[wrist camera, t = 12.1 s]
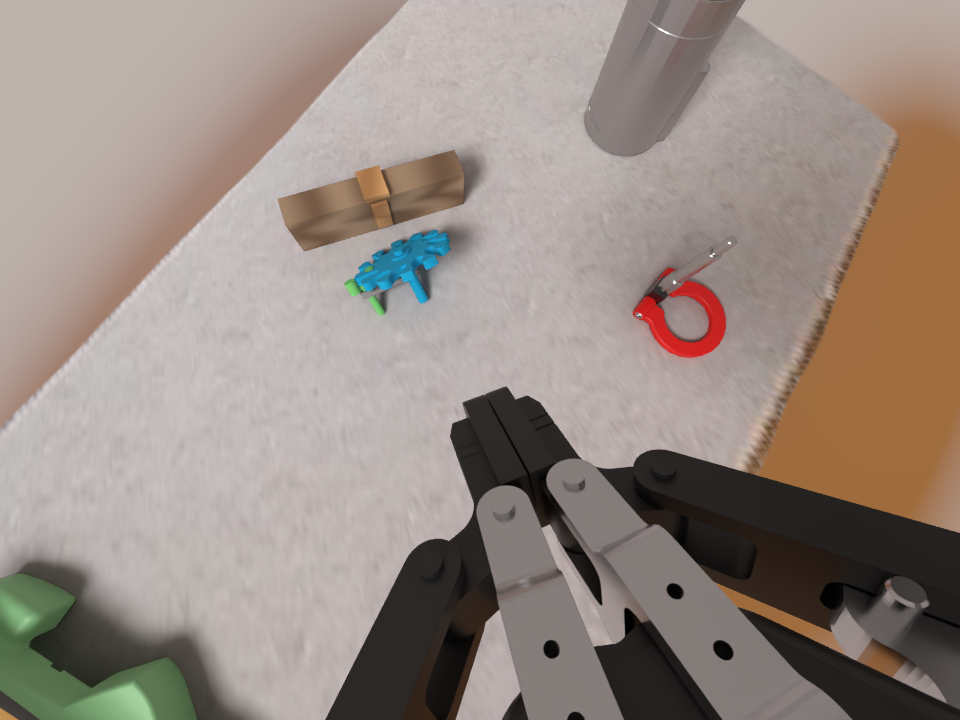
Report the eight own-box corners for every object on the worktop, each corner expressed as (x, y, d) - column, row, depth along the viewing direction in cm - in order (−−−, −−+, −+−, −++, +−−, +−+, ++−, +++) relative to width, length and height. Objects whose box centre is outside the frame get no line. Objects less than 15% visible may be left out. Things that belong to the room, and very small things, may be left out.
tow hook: (732, 316, 46) (666, 264, 46) (843, 269, 33) (750, 198, 34) (693, 374, 44) (624, 319, 45) (794, 347, 32) (697, 271, 32)
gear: (435, 216, 44) (455, 241, 36) (457, 264, 47) (479, 298, 39) (341, 260, 44) (339, 296, 36) (369, 306, 47) (373, 348, 39)
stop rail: (453, 180, 47) (453, 144, 42) (464, 206, 46) (465, 172, 41) (296, 226, 45) (274, 194, 39) (305, 253, 44) (283, 224, 38)
